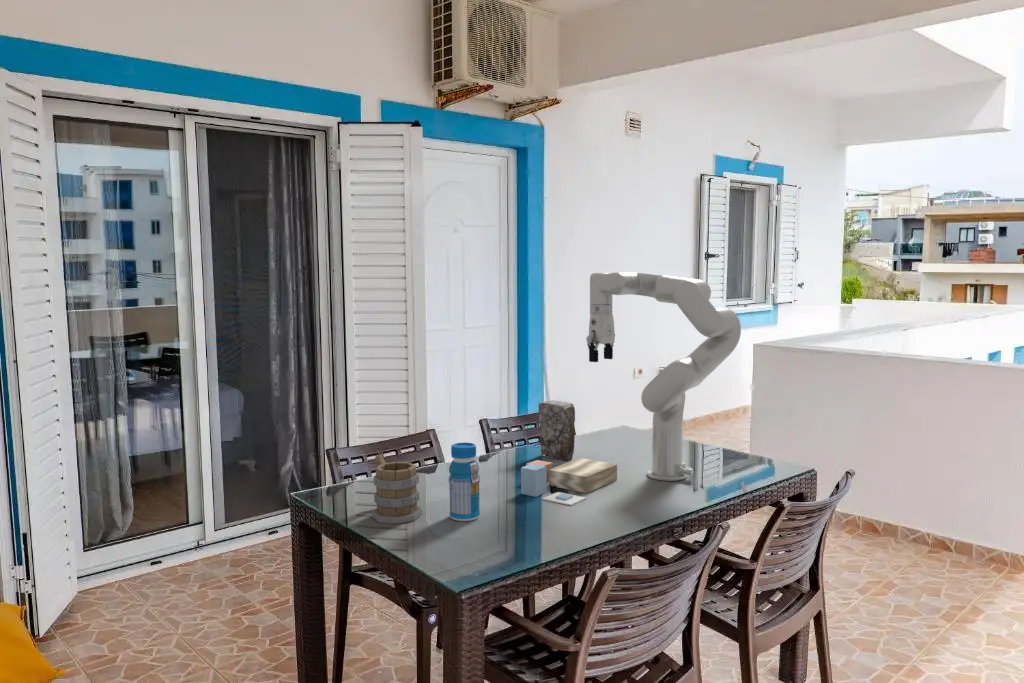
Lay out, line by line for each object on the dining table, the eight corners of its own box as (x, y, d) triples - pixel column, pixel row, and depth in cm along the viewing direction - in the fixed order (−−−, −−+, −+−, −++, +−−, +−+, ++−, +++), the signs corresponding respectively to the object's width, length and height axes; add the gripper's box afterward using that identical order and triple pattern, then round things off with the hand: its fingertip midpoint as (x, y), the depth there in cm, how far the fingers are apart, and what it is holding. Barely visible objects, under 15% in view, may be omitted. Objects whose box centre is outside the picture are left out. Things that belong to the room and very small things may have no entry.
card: (586, 498, 219) (586, 495, 219) (570, 505, 213) (570, 502, 213) (557, 493, 225) (557, 489, 225) (542, 499, 219) (542, 496, 219)
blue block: (546, 492, 226) (546, 466, 225) (535, 496, 222) (535, 470, 221) (532, 489, 229) (531, 463, 229) (521, 493, 225) (520, 467, 224)
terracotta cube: (552, 481, 238) (552, 462, 238) (541, 485, 234) (541, 466, 233) (537, 478, 242) (537, 459, 242) (526, 482, 237) (525, 463, 237)
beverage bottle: (452, 523, 199) (451, 449, 197) (446, 513, 207) (445, 442, 205) (483, 520, 201) (482, 447, 199) (476, 510, 209) (475, 440, 207)
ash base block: (617, 479, 239) (617, 464, 238) (586, 493, 225) (586, 476, 224) (580, 472, 247) (580, 458, 247) (548, 485, 233) (548, 469, 233)
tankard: (427, 518, 203) (426, 464, 202) (383, 527, 197) (381, 471, 196) (400, 499, 221) (399, 449, 219) (359, 506, 214) (357, 455, 213)
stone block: (537, 456, 270) (536, 401, 268) (549, 452, 276) (548, 399, 274) (566, 462, 262) (566, 405, 260) (578, 458, 267) (578, 402, 265)
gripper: (597, 311, 242) (597, 363, 243) (623, 308, 256) (623, 358, 257) (578, 310, 246) (578, 362, 248) (604, 308, 260) (604, 357, 262)
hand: (601, 360), depth 253 cm, fingers open, 9 cm apart
